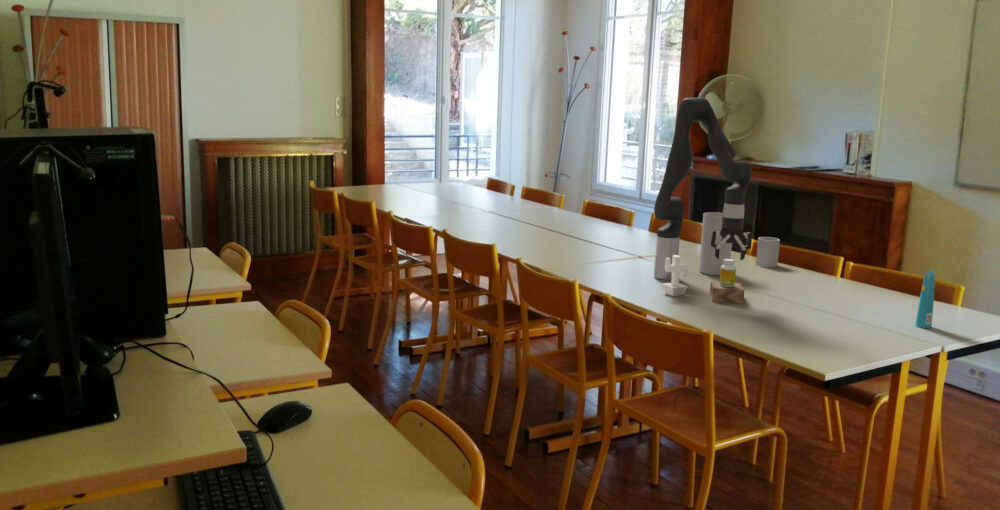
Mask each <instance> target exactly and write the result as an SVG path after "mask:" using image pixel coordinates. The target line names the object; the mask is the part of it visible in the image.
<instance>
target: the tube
mask: <svg viewBox="0 0 1000 510" xmlns="http://www.w3.org/2000/svg"><path fill="white" fill-rule="evenodd" d="M935 279H936V278H935V269H932V270H929V271H926V272H925V274H924V278H923V283H922V286H921V291H920V296H919V301H918V307H917V313H916V319H915V326H916V327H918V328H922V329H931V328H932V324H933V314H934V302H935V284H936V281H935Z"/></svg>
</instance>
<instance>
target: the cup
mask: <svg viewBox="0 0 1000 510" xmlns="http://www.w3.org/2000/svg"><path fill="white" fill-rule="evenodd" d="M780 241H781V240H780V239H779V238H777V237H771V236H759V237H758V238H757V248H756V249H757V250H756V259H755V260H756V261H755V266H757V267H761V268H769V269H771V268H777V267H778V265H779V263H778V262H779V253H780V252H779V251H780V244H781V242H780Z"/></svg>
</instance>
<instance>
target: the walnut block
mask: <svg viewBox="0 0 1000 510" xmlns="http://www.w3.org/2000/svg"><path fill="white" fill-rule="evenodd" d="M709 285H710V286H709V295H710V299H711V301H712V302H715V303H733V304H744V301H745V300H744V299H745V288H744V287H743V285H742V283H740V282H735V285H734V287H724V286H721V285H720V281H710V284H709Z"/></svg>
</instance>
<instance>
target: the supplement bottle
mask: <svg viewBox="0 0 1000 510" xmlns="http://www.w3.org/2000/svg"><path fill="white" fill-rule="evenodd" d="M723 263H724V265H722V266H721V272H720V276H719V282H720V285H721V286H724V287H734V285H735V283H736V275H737V273H736V272H737V266H736V265H735V259H733V258H731V259H724V260H723Z"/></svg>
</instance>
